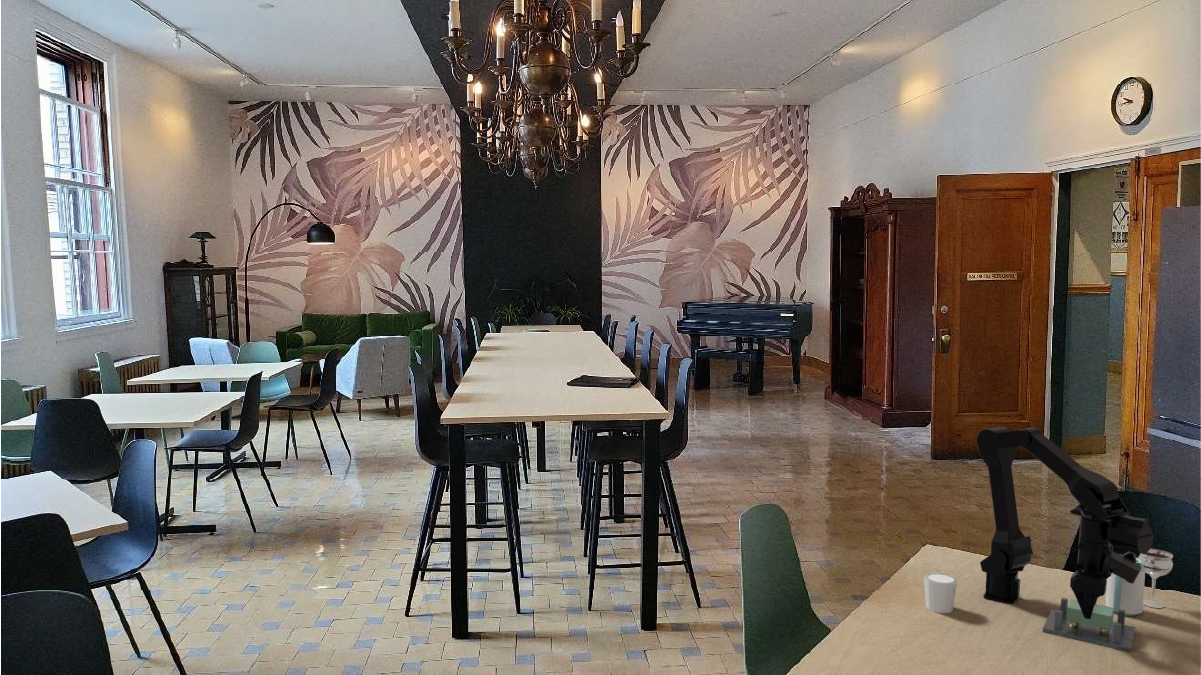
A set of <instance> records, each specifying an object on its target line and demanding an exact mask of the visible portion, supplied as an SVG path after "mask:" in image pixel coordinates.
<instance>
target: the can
mask: <svg viewBox="0 0 1201 675" xmlns="http://www.w3.org/2000/svg"><path fill="white" fill-rule="evenodd" d="M1136 563H1140V565H1141V570H1140V572H1139V574H1138V576H1137V578H1136V580H1135V581H1134V583H1133V584H1132V583H1129V582H1127V581H1126V580H1125V579H1123V578H1121V577H1119V576H1117V575H1115V574H1113V573H1112V574H1111V576H1110V577H1109V578H1107V579H1106V580H1107V586H1106V597H1105V598H1106V600H1105V606H1107V607H1112V608H1114V612H1113V613H1115V614H1118V610H1124V611H1125V616H1128V617H1129V616H1130V617H1133V616H1134V617H1135V616H1138V615H1140V614H1142V613H1143V608H1144V605H1143V600H1144V597H1145V596H1144V593H1145V580H1146V578H1145V576H1146V572H1145V567H1144V566H1143V564H1142V560H1140V559H1139V558H1138V557H1136ZM1137 614H1138V615H1137Z"/></svg>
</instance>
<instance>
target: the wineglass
mask: <svg viewBox="0 0 1201 675" xmlns="http://www.w3.org/2000/svg"><path fill="white" fill-rule="evenodd" d="M1137 558H1139V559H1140V560H1142V564H1143V566H1144V567H1145V574H1148V575H1149V576H1150V577H1151V599H1143V603H1144V604H1145V605H1148V606H1151V607H1156V608H1161V607H1163V606H1164V605H1165V604H1163V603H1161V602H1159V601H1155V600H1154V599H1155V592H1156V591H1155V590H1156V585H1157V584H1156V582H1157V579H1158V578H1159V577H1163V576H1166V575H1168V574H1170V573H1171V572H1172V569H1173V566H1174V563H1173V560H1172V559H1173V558H1174V555H1173V553H1171V552H1169V551H1165V550H1161V549H1156V548H1150V550H1149V551H1148V552H1147V553H1146V554H1141V553H1139V555H1138V557H1137Z"/></svg>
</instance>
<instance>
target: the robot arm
mask: <svg viewBox="0 0 1201 675" xmlns="http://www.w3.org/2000/svg"><path fill="white" fill-rule="evenodd" d="M975 441H976V445H977V449H978V453H979V456H980V457H981V460H983V462H984V463H985V465H986V466H987V470H988V477H989V483H990V493H991V501H992V508H993V516H994V525H995V530H994V531H995V532H994V534H993V537H992V540H991V542H990V555H988V556H986V557H985V558H984V559H982V560H981V561H979V564H980V569H981V572H983V573H986V574H985V592H984V594H983V598H984V599H988V600H992V601H998V602H1001V601H1002V602H1001V603H1006V602H1007V603H1006V604H1010V603H1012V605H1013V603H1014V604H1015V602H1016V600H1018V599H1019V598H1020V595H1021V594H1020V593H1021V579H1020V578H1019V572H1023V571H1024V570H1025V567H1026V566H1027V565H1028V564H1030V562H1031V561H1032V560H1031V559H1032V555H1034V554H1035V553H1034V551H1033V547H1032V538H1031V536H1030V535H1027V536H1025V535H1024V533H1023V532H1022V531H1021V529H1020V525H1019V515H1018V508H1017V500H1016V494H1015V493H1016V492H1015V486H1014V478H1013V470H1012V466H1013V462H1014V460H1015V457H1016V455H1017V447H1018V448H1020V447H1023V448H1024V449H1026V451H1028V452H1029V453H1030V454H1031V455H1032V456H1034V457H1035V458H1036V459H1037V460H1039V462H1041V463H1042V464H1043V465H1045V466H1046V467H1047V468H1048V469H1049V470H1050V471H1052V472H1053V473H1054V474H1055V475H1056V476H1058V478H1059V479H1061V480H1062V481H1063V482H1064V483H1065V484H1066V485H1067V488H1068V490H1069V492H1070V495H1071V496H1073V498H1074V499H1075V500H1076V502H1078V504H1077V506H1076V507H1075V508H1073V509H1071V510H1070V514H1072V515H1074V516H1075V515H1076V516H1079V517H1080V522H1079V537H1078V543H1077V547H1076V549H1077V551H1078V552H1077V553H1078V554H1077V561H1076V566H1075V568H1076V569H1077V571H1075V572H1073V573H1072V575H1071V576H1070V582H1069V588H1071V591H1072V592H1073V594H1074V596H1075V598H1076V599H1075V600H1077V601H1078V603H1079V606H1080V608H1081V611H1082V613H1083V616H1084V618H1086V619H1091V616H1092V612H1093V609H1094V605H1095V604H1097V602H1098V598H1100V597H1103V596H1105V594H1106V593H1107V579H1108V578H1109V577H1110V576H1111V574H1112V573H1113V574H1115V575H1117V576H1119V577H1121V578H1123V579H1125V580H1126V581H1127V582H1129V583H1132V584H1133V583H1134V581H1135V580H1136V578H1137V576H1138V574H1139V572H1140V570H1141V565H1140V563H1136V558H1137V554H1136V553H1138V554H1140V553H1141V554H1146V553H1147V552H1148V551H1149V550H1150V549H1152V546H1153V543H1154V537H1155V536H1154V534H1153V530H1152V528H1151V526H1150V525H1149V520H1148V519H1147V518H1141V517H1140V518H1139V517H1135V516H1131V515H1130V511H1129V509H1128V508H1127V506H1126V505H1125V503H1124V501H1123V499H1122V498H1121V496H1120V494H1119V487H1118V486H1117V485H1116V484H1115V482H1114V481H1112V480H1110V479H1108V478H1106V477H1105V476H1103V475H1102V474H1100V473H1097V472H1095V471H1092V470H1090V469H1088V468H1085V467H1084V466H1082V465H1081V464H1079V463H1078V462H1077V461H1076V460H1075V459H1073V458H1072V457H1071V456H1070V455H1069V454H1068V453H1067V452H1065V451H1064V450H1062V449H1061V447H1059V446H1058V445H1056V444H1055V443H1054V442H1053V441H1051V440H1050V439H1049V438H1048V437H1047V436H1045V435H1044V434H1043V432H1042V431H1041V429H1039V428H1036V427H1028V428H1020V429H1014V430H1011V429H1010V428H1008V427H1005V426H999V427H993V428H986V429H985V428H984V429H983V430H981V431H980V432H979V433H978V435H976V440H975ZM1108 507H1111V508H1109V509H1108ZM1105 508H1107V509H1105ZM1113 547H1117V548H1121V549H1125V550H1128V551H1127V552H1125V553H1123V554H1122V553H1117V552H1115V551H1113V550H1114V549H1113ZM1134 552H1135V553H1134Z"/></svg>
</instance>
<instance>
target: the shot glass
mask: <svg viewBox="0 0 1201 675" xmlns="http://www.w3.org/2000/svg"><path fill="white" fill-rule="evenodd" d="M923 579H924V591H925V592H924V594H925V595H924V596H925V608H926V609H928V610H929V611H931V612H934V613H938V614H950V613H952V612H953V611H954V604H955V597H956V589H957V584H958V580H957V578H955V577H954V576H952V575H949V574H946V573H940V572H939V573H938V572H937V573H936V572H931V573H927V574H925V575H924V577H923Z"/></svg>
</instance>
